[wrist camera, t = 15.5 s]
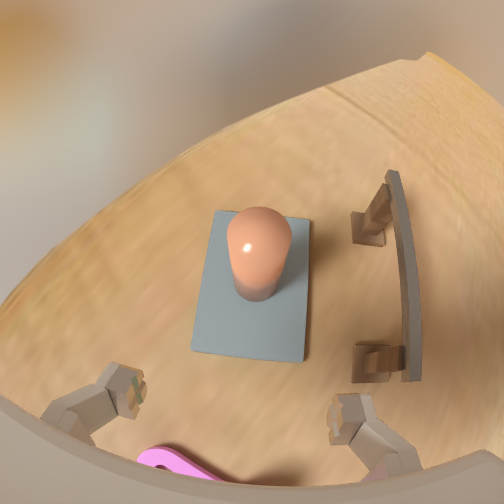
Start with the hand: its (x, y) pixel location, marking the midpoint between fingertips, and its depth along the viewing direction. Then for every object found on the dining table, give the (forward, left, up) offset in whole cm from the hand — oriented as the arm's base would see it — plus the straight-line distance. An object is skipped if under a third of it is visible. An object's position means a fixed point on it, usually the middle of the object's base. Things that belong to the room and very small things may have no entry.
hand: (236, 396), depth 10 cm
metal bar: (-13, -11, -8) cm, 19 cm away
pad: (0, -11, -16) cm, 20 cm away
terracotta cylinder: (0, -11, -16) cm, 19 cm away
